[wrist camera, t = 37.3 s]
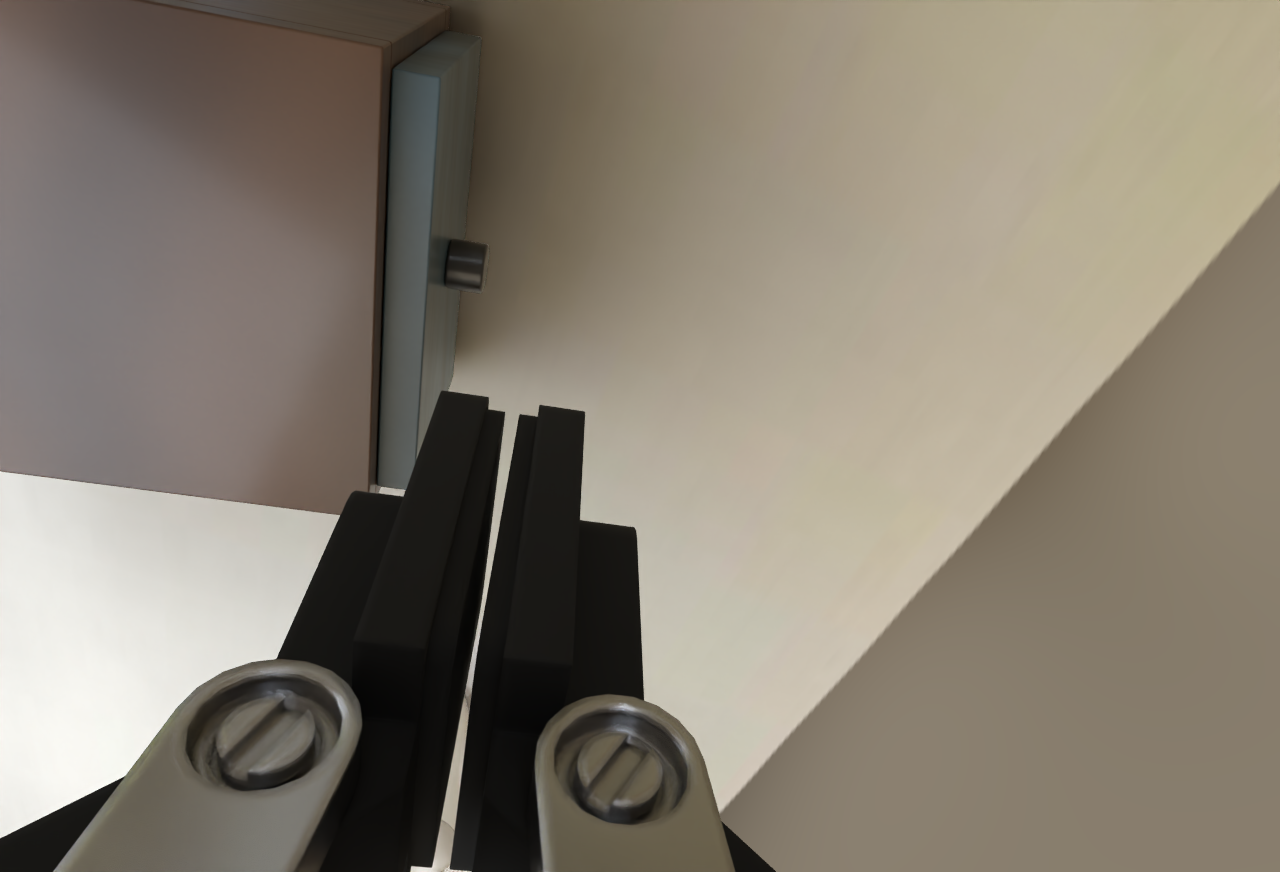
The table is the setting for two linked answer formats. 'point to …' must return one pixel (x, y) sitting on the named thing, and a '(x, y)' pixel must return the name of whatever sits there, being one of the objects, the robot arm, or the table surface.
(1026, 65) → the table surface
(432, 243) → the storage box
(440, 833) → the milkshake
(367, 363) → the cabinet
